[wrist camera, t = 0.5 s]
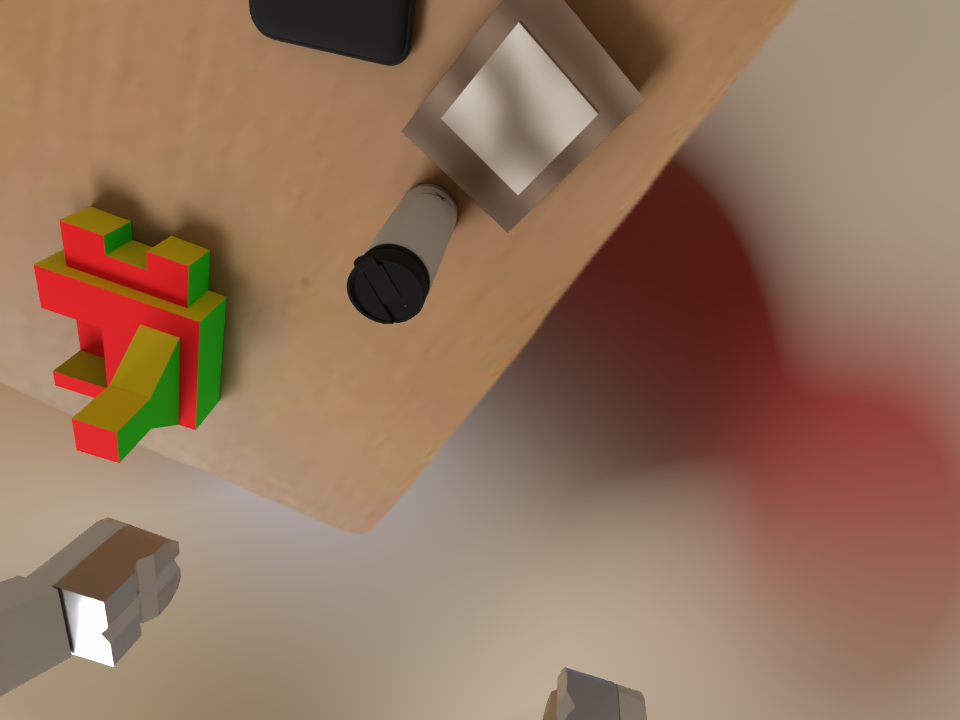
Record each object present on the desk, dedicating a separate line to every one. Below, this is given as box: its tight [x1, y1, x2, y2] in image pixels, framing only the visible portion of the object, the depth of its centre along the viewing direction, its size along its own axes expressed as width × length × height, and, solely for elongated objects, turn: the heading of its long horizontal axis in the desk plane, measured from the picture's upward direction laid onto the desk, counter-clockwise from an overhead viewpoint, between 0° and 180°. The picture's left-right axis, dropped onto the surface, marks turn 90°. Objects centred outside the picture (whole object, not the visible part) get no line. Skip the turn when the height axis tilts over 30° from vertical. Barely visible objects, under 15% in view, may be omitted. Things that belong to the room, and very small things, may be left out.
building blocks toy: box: [34, 206, 227, 463], centre depth 60 cm, size 19×25×18 cm
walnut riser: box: [401, 0, 645, 233], centre depth 47 cm, size 17×14×4 cm
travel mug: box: [347, 183, 458, 324], centre depth 48 cm, size 6×7×20 cm
